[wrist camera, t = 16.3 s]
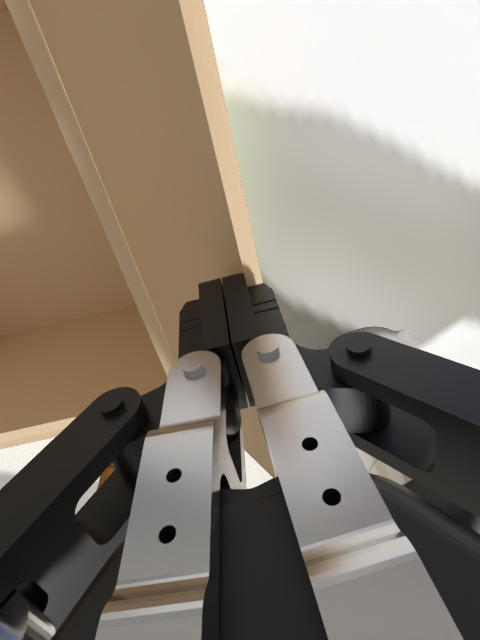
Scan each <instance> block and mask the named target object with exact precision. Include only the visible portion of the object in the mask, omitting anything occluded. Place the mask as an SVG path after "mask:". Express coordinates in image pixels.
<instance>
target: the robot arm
mask: <svg viewBox="0 0 480 640" xmlns="http://www.w3.org/2000/svg"><path fill="white" fill-rule="evenodd" d="M222 283H223V284H222ZM198 288H199V299H196V300H192V301H188V302H186V303H185V305H184V306H183V308H182V309H181V311H180V313H179V323H180V324H179V349H178V360H177V361H175V362H174V363H173V365H172V366H171V367H170V369H169V372H168V378H167V382H166V383H164V384H163V385H161V386H160V387H158V388H156V389H154V390H152V391H150V392H148V393H146V394H144V395H142V396H140V394H139V393H138V391H137V390H135V389H133V388H130V387H119V388H115V389H112V390H109V391H107V392H105V393H103V394H102V395H100V396H99V397H98V398H96V399H95V400H94V401H93V402H92V403H91V404H90V405H89V406H88V407H87V408H86V409H85V410H84V411H83V412H82V413H81V414H79V415H78V416H77V417H76V418H75V419H74V420H73V421H72V422H71V423H70V424H69V425H68V426H67V427H66V428H65V429H64V430H63V431H62V432H61V433H60V434H58V435H57V436H56V437H55V438H54V439H53V440H52V441H51V442H50V443H49V444H48V445H47V446H46V447H45V448H44V449H43V450H42V451H41V452H40V453H39V454H37V455H36V456H35V457H34V458H33V459H32V460H31V461H30V462H29V463H28V464H27V465H26V466H25V467H24V468H23V469H22V470H21V471H20V472H19V473H18V474H17V475H15V476H14V477H13V478H12V479H11V480H10V481H9V482H8V483H7V484H6V485H5V486H4V487H3V488H2V489H1V490H0V640H480V370H478V369H475V368H472V367H469V366H466V365H463V364H460V363H457V362H454V361H451V360H449V359H446V358H443V357H440V356H437V355H434V354H431V353H428V352H425V351H423V350H420V349H419V348H418V347H417V346H416V344H415V343H414V342H413V340H412V339H411V337H410V336H409V335H408V334H407V332H406V331H405V330H401V331H392V330H389V329H387V328H382V327H366V328H361V329H357V330H355V331H352V332H350V333H347V334H344V335H342V336H340V337H338V338H337V339H335V340H334V341H333V342H332V344H331V346H330V348H329V350H313V349H307V348H303V347H301V346H298V345H297V344H295V343H294V342H293V340H292V339H290V337H289V335H288V332H287V329H286V326H285V324H284V321H283V318H282V315H281V312H280V309H279V307H278V304H277V301H276V298H275V295H274V293H273V290H272V289H271V288H269V287H268V286H267V285H265V284H264V283H261V284H257V285H253V286H249V287H247V284H246V280H245V276H244V274H243V273H238V274H234V275H230V276H226V277H222V281H221V278H218V279H214V280H210V281H206V282H202V283H199V284H198ZM246 394H247V397H246ZM247 398H248V401H249V404H250V407H253V406H255V407H256V410H257V414H258V417H259V421H260V425H261V428H262V432H263V435H264V438H265V442H266V445H267V448H268V452H269V455H270V458H271V462H272V465H273V468H274V472H275V475H276V477H275V478H273V479H271V480H269V481H267V482H265V483H263V484H261V485H259V486H257V487H254V488H251V489H246V473H245V454H244V434H243V429H242V426H241V423H242V419H241V412H240V409H245V408H248V403H247ZM111 463H112V464H113V465H114V467H115V468H116V469H115V470H114V471H113V472H112V474H111V475H110V476H109V477H108V478H107V479H106V481H105V482H104V483H103V484H102V485H101V486H100V487H99V489H98V490H97V491H96V492H95V493H94V494H93V496H92V497H91V498H90V499H89V500H88V501H87V502H86V504H85V505H84V506H83V507H82V508H81V509H80V510H79V512H78V513H77V514H76V515H75V509H76V505H77V503H78V501H79V499H80V498H81V497H82V495H83V494H84V493H85V492H86V491H87V490H88V489H89V487H90V486H91V485H92V484H93V483H94V482H95V481H96V480H97V479H98V477H99V476H100V475H101V474H102V473H103V472H104V471H105V470H106V468H107V467H108V466H109V465H110V464H111Z"/></svg>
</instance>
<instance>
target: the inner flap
mask: <svg viewBox="0 0 480 640" xmlns="http://www.w3.org/2000/svg"><path fill="white" fill-rule="evenodd" d="M29 1H30V4H31V6H32V9H33V11H34V14H35V16H36V19H37V21H38V24H39V26H40V28H41V31H42V33H43V36H44V38H45V41H46V43H47V46H48V48H49V51H50V53H51V56H52V58H53V61H54V63H55V65H56V68H57V70H58V73H59V75H60V78H61V80H62V83H63V85H64V88H65V90H66V93H67V95H68V98H69V100H70V103H71V105H72V107H73V110H74V112H75V115H76V117H77V120H78V122H79V125H80V127H81V130H82V132H83V135H84V137H85V140H86V142H87V144H88V147H89V149H90V152H91V154H92V157H93V159H94V162H95V164H96V167H97V169H98V172H99V174H100V177H101V179H102V182H103V184H104V186H105V189H106V191H107V194H108V196H109V199H110V201H111V204H112V206H113V209H114V211H115V214H116V216H117V219H118V221H119V223H120V226H121V228H122V231H123V233H124V236H125V238H126V241H127V243H128V246H129V248H130V251H131V253H132V256H133V258H134V261H135V263H136V265H137V268H138V270H139V273H140V275H141V278H142V280H143V283H144V285H145V288H146V290H147V293H148V295H149V298H150V300H151V302H152V305H153V307H154V310H155V312H156V315H157V317H158V320H159V322H160V325H161V327H162V330H163V332H164V335H165V337H166V340H167V342H168V344H169V347H170V349H171V352H172V354H173V357H174V359H175V361H177V360H178V349H179V324H180V323H179V313H180V311H181V309H182V308H183V306H184V305H185V303H186V302H188V301H192V300H196V299H199V288H198V284H199V283H202V282H206V281H210V280H214V279H218V278H221V281H222V277H226V276H230V275H234V274H238V273H243V274H244V276H245V280H246V284H247V287H249V286H253V285H257V284H261V283H263V280H262V275H261V270H260V266H259V261H258V256H257V251H256V247H255V242H254V238H253V233H252V228H251V223H250V219H249V214H248V210H247V204H246V200H245V195H244V191H243V186H242V181H241V176H240V171H239V166H238V162H237V157H236V152H235V148H234V143H233V138H232V134H231V129H230V124H229V120H228V115H227V110H226V105H225V100H224V96H223V91H222V86H221V82H220V77H219V72H218V67H217V63H216V58H215V53H214V49H213V44H212V39H211V34H210V30H209V25H208V20H207V15H206V11H205V6H204V1H203V0H29ZM222 284H223V283H222ZM246 397H247V394H246ZM247 403H248V408H245V409H240V412H241V419H242V423H241V426H242V429H243V434H244V450H245V451H246V452H247V453H248V454H249V455H250V456H251V457H252V458H253V459H255V460H256V461H257V462H258V463H259V464H260V465H261V466H262V467H263V468H264V469H265V470H266V471H267V472H268V473H269V474H270V475H271V476H272V477H273V478H275V477H276V475H275V472H274V468H273V465H272V462H271V458H270V455H269V452H268V448H267V445H266V442H265V438H264V435H263V432H262V428H261V425H260V421H259V417H258V414H257V410H256V407H255V406H253V407H250V404H249V401H248V398H247Z"/></svg>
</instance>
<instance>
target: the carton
mask: <svg viewBox="0 0 480 640" xmlns="http://www.w3.org/2000/svg"><path fill="white" fill-rule="evenodd" d="M174 362H175V359H174V357H173V354H172V352H171V349H170V347H169V344H168V342H167V340H166V337H165V335H164V332H163V330H162V327H161V325H160V322H159V320H158V317H157V315H156V312H155V310H154V307H153V305H152V302H151V300H150V298H149V295H148V293H147V290H146V288H145V285H144V283H143V280H142V278H141V275H140V273H139V270H138V268H137V265H136V263H135V261H134V258H133V256H132V253H131V251H130V248H129V246H128V243H127V241H126V238H125V236H124V233H123V231H122V228H121V226H120V223H119V221H118V219H117V216H116V214H115V211H114V209H113V206H112V204H111V201H110V199H109V196H108V194H107V191H106V189H105V186H104V184H103V182H102V179H101V177H100V174H99V172H98V169H97V167H96V164H95V162H94V159H93V157H92V154H91V152H90V149H89V147H88V144H87V142H86V140H85V137H84V135H83V132H82V130H81V127H80V125H79V122H78V120H77V117H76V115H75V112H74V110H73V107H72V105H71V103H70V100H69V98H68V95H67V93H66V90H65V88H64V85H63V83H62V80H61V78H60V75H59V73H58V70H57V68H56V65H55V63H54V61H53V58H52V56H51V53H50V51H49V48H48V46H47V43H46V41H45V38H44V36H43V33H42V31H41V28H40V26H39V24H38V21H37V19H36V16H35V14H34V11H33V9H32V6H31V4H30V1H29V0H0V449H3V448H8V447H12V446H17V445H21V444H26V443H30V442H35V441H39V440H44V439H48V438H53V437H56V436H57V435H58V434H60V433H61V432H62V431H63V430H64V429H65V428H66V427H67V426H68V425H69V424H70V423H71V422H72V421H73V420H74V419H75V418H76V417H77V416H78V415H79V414H81V413H82V412H83V411H84V410H85V409H86V408H87V407H88V406H89V405H90V404H91V403H92V402H93V401H94V400H95V399H96V398H98V397H99V396H100V395H102V394H103V393H105V392H107V391H109V390H112V389H115V388H119V387H130V388H133V389H135V390H137V391H138V393H139V394H140V396H142V395H144V394H146V393H148V392H150V391H152V390H154V389H156V388H158V387H160V386H161V385H163V384H164V383H166V382H167V378H168V372H169V369H170V367H171V366H172V365H173V363H174Z"/></svg>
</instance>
